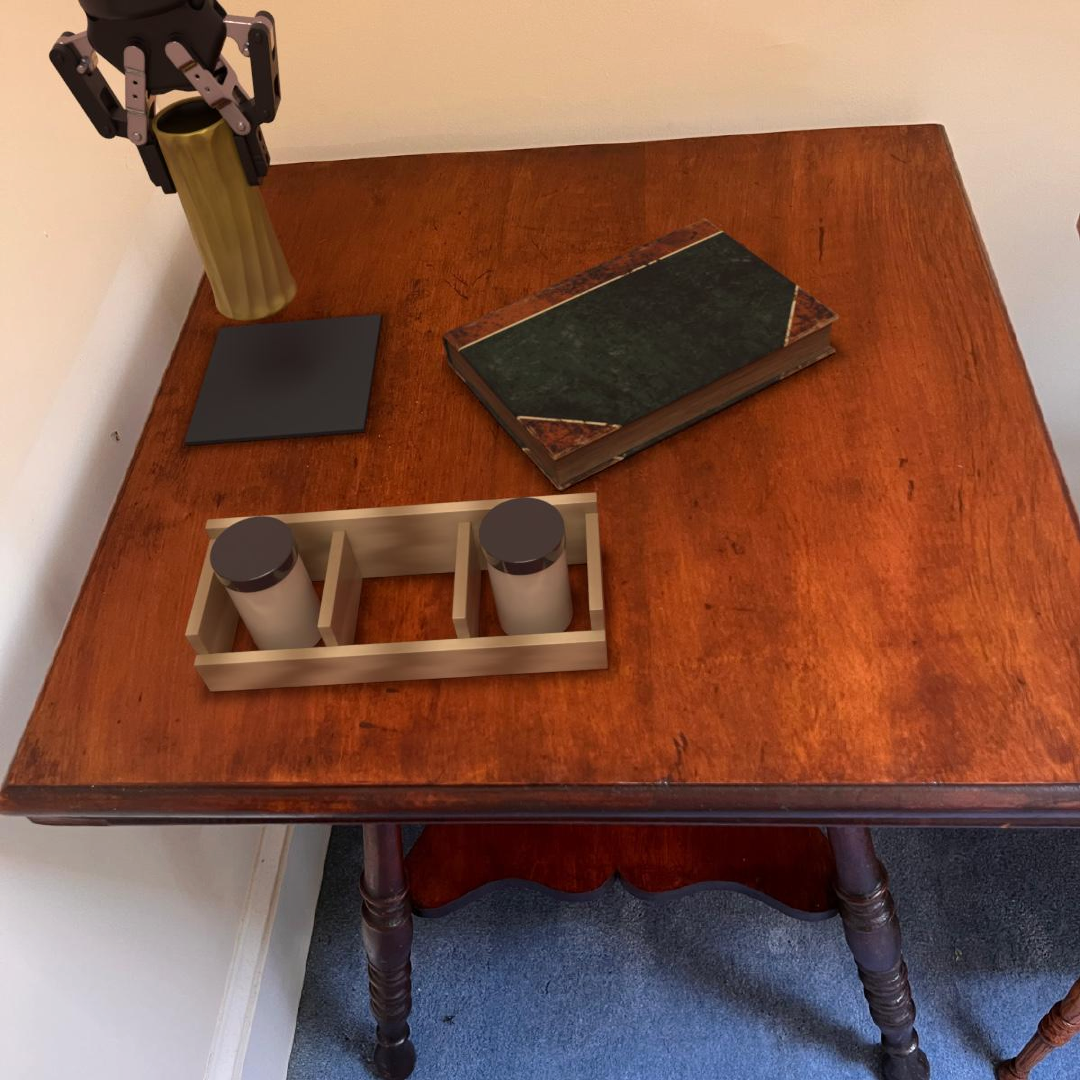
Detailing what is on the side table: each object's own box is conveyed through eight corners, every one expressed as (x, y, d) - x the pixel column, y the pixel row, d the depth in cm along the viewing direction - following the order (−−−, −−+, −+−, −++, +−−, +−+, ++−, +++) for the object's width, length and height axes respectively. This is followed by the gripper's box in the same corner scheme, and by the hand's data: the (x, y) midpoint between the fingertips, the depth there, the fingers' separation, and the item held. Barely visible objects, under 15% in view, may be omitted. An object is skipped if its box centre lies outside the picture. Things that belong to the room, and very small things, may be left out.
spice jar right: (495, 647, 64) (477, 565, 58) (497, 584, 68) (480, 500, 62) (575, 642, 64) (565, 559, 58) (573, 579, 67) (563, 494, 61)
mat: (186, 445, 79) (184, 442, 79) (221, 331, 89) (219, 327, 88) (364, 432, 78) (363, 428, 78) (382, 317, 88) (381, 313, 87)
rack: (210, 692, 64) (175, 636, 60) (237, 577, 70) (207, 519, 66) (608, 668, 63) (602, 610, 58) (601, 553, 69) (596, 491, 64)
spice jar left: (245, 662, 66) (201, 583, 59) (259, 599, 69) (218, 518, 63) (323, 658, 65) (286, 577, 59) (332, 595, 68) (299, 512, 62)
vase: (203, 319, 76) (126, 137, 65) (237, 270, 80) (171, 90, 69) (278, 325, 75) (213, 140, 64) (310, 275, 79) (253, 92, 68)
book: (557, 494, 72) (836, 353, 79) (553, 458, 70) (842, 315, 76) (446, 364, 83) (700, 249, 89) (438, 328, 80) (701, 212, 87)
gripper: (252, -130, 59) (326, 146, 72) (12, -103, 60) (127, 164, 73) (227, -82, 55) (311, 205, 67) (-34, -53, 56) (98, 224, 68)
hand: (215, 183), depth 70 cm, fingers closed on vase, 5 cm apart
